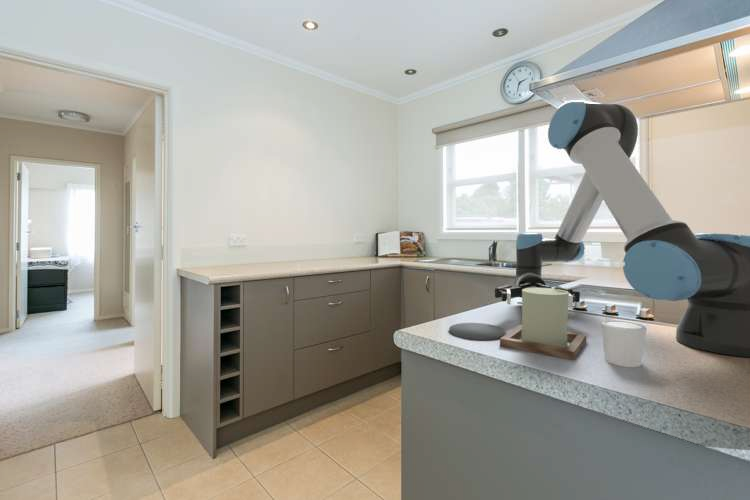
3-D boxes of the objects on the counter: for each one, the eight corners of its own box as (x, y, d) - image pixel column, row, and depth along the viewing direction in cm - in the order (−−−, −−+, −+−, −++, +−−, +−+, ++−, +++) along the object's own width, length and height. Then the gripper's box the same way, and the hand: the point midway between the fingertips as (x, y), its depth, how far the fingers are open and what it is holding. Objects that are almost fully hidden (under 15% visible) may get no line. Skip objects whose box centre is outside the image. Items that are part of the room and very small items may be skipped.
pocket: (586, 341, 80) (586, 334, 80) (573, 360, 69) (574, 351, 69) (520, 331, 89) (520, 324, 89) (499, 345, 78) (499, 338, 78)
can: (574, 352, 74) (575, 293, 73) (525, 349, 75) (526, 291, 75) (560, 338, 83) (561, 285, 82) (517, 336, 84) (518, 284, 84)
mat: (513, 330, 89) (513, 328, 89) (493, 343, 79) (493, 341, 79) (463, 322, 97) (463, 320, 97) (439, 333, 87) (439, 331, 87)
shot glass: (653, 369, 64) (655, 330, 64) (611, 367, 66) (612, 328, 65) (633, 356, 71) (634, 320, 71) (594, 354, 72) (595, 319, 72)
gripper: (578, 301, 104) (598, 319, 84) (486, 297, 112) (484, 312, 92) (579, 275, 104) (599, 287, 84) (486, 272, 112) (485, 282, 91)
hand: (539, 300), depth 88 cm, fingers open, 13 cm apart
